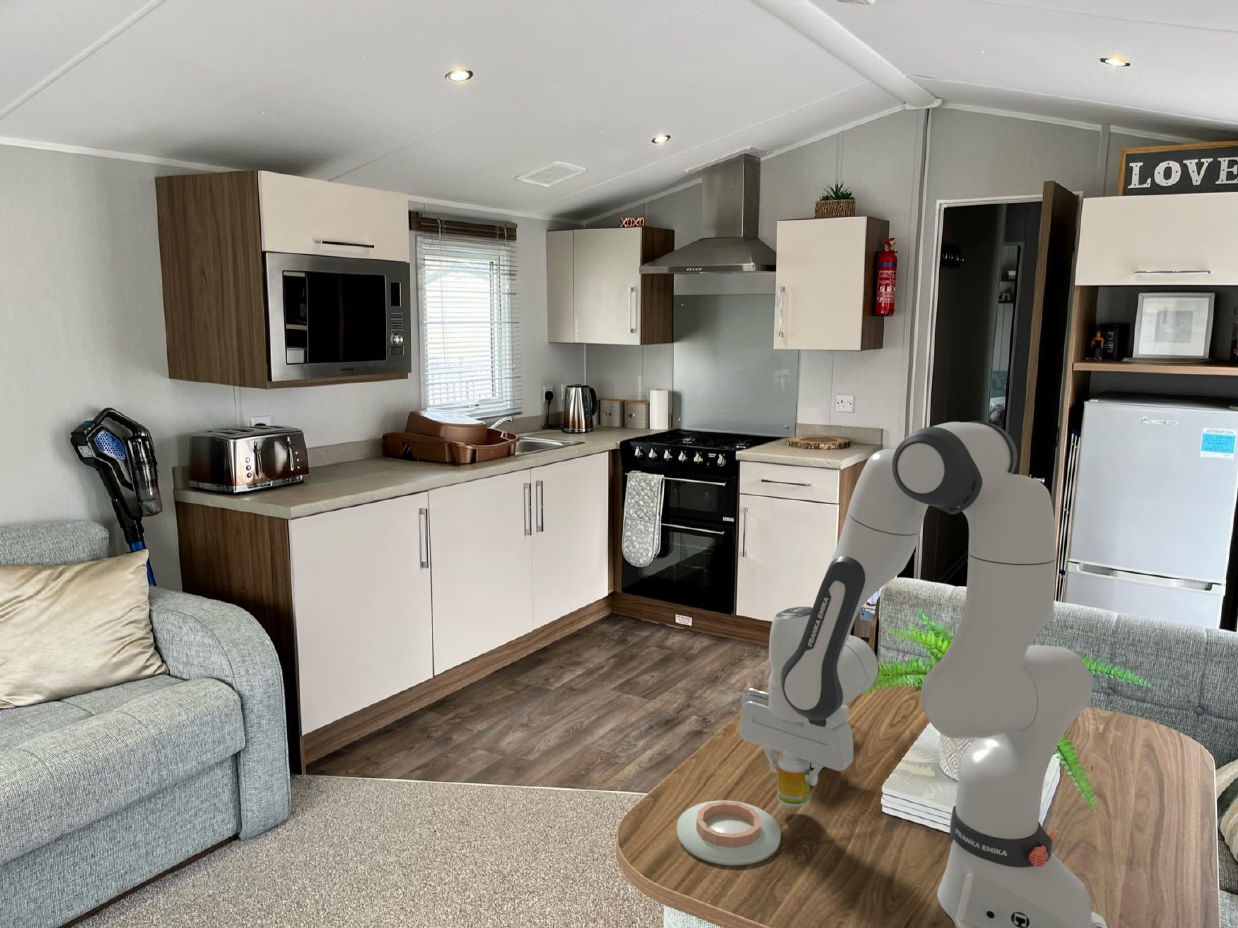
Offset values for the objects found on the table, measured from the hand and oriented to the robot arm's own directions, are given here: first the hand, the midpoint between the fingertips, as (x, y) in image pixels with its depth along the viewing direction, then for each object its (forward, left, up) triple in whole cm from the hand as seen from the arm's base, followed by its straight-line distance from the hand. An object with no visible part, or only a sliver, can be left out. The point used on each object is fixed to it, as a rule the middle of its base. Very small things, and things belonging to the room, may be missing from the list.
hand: (793, 777), depth 157 cm
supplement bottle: (0, 0, -4) cm, 4 cm away
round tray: (+5, +12, -7) cm, 15 cm away
